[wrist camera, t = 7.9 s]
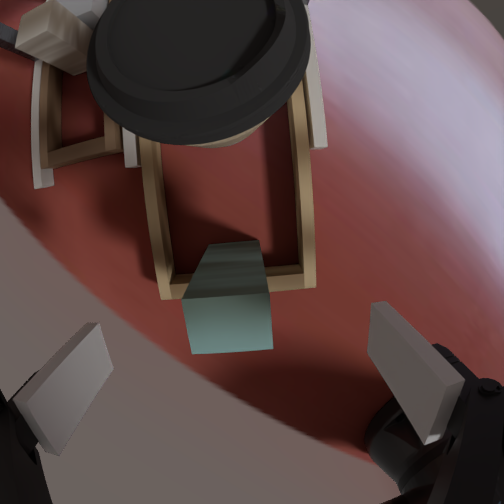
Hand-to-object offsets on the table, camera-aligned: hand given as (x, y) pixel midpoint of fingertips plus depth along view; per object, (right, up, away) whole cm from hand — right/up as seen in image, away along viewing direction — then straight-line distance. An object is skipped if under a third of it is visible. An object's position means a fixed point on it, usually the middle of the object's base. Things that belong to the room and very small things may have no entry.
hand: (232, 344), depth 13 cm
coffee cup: (-2, +16, +8) cm, 18 cm away
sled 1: (-14, +22, +6) cm, 26 cm away
